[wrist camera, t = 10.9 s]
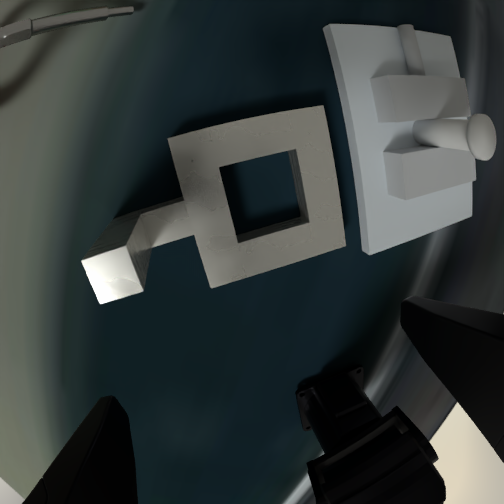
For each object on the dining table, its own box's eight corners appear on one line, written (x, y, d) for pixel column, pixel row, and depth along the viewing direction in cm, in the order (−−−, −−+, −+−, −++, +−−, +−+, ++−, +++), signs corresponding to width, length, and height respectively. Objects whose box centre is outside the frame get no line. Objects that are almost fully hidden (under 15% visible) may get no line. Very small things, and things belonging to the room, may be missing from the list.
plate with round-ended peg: (464, 213, 24) (522, 236, 17) (362, 250, 22) (423, 291, 16) (442, 38, 18) (504, 27, 11) (322, 28, 16) (383, -9, 10)
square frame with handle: (143, 297, 19) (133, 366, 13) (96, 163, 16) (51, 176, 10) (335, 238, 21) (395, 280, 15) (312, 107, 18) (377, 96, 11)
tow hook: (-37, 59, 10) (-43, 1, 5) (88, 21, 16) (127, -34, 11) (-25, 142, 13) (-40, 108, 8) (105, 93, 19) (148, 51, 14)
